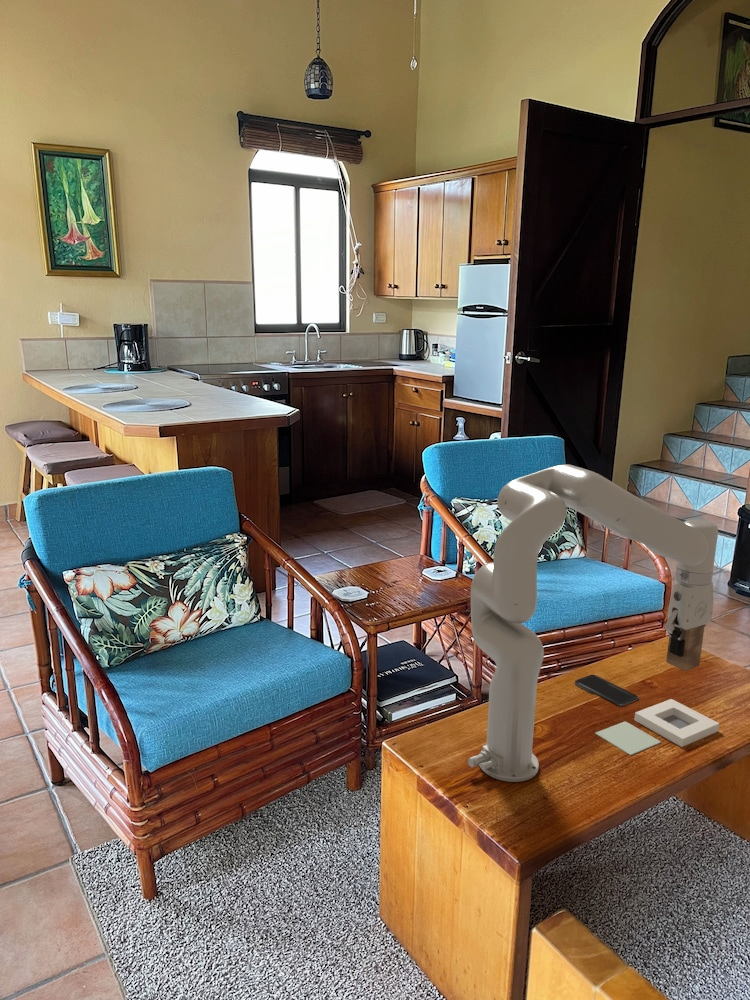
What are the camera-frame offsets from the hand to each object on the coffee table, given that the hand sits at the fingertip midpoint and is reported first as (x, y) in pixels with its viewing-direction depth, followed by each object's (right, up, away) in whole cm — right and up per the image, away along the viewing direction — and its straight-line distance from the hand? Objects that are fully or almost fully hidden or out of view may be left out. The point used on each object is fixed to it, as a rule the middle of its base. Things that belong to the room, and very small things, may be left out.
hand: (684, 651), depth 167 cm
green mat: (-13, -20, -1) cm, 24 cm away
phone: (-11, -15, +21) cm, 28 cm away
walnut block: (0, -3, +1) cm, 3 cm away
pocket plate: (0, -19, +5) cm, 19 cm away
